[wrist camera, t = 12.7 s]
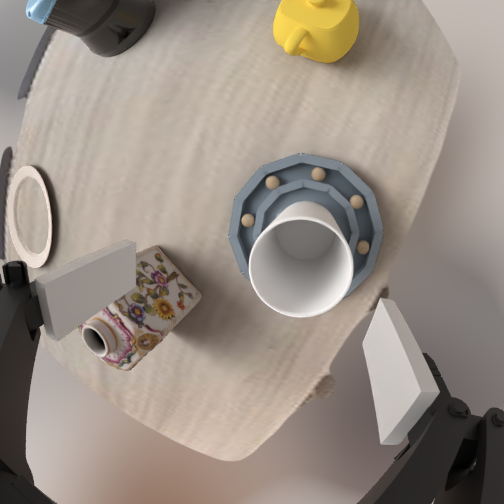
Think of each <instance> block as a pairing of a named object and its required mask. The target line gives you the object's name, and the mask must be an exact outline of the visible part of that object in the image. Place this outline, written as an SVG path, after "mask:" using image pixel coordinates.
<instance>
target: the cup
mask: <svg viewBox="0 0 504 504" xmlns="http://www.w3.org/2000/svg"><path fill="white" fill-rule="evenodd" d="M353 268H354V267H353V257H352V253H351V250H350V247H349V245H348V243H347V241H346V239H345V237H344V236H343V234H342V232H341V230H340V228H339V227H338V225H337V223H336V221H335V219H334V218H333V216H332V214H331V213H330V212H329V211H328V210H327V209H326V208H325V207H324V206H322V205H320V204H318V203H315V202H311V201H300V202H296V203H294V204H292V205H290V206H288V207H287V208H286V209H285V210H284V211H283V212H282V213H281V214H280V215H279V216H278V217H277V218H276V219H275V220H274V221H273V222H272V223H271V224H270V225H269V226H268V227H267V228H266V229H265V230H264V231H263V232H262V233H261V234H260V236H259V237H258V238H257V240H256V242H255V244H254V246H253V248H252V251H251V254H250V258H249V275H250V280H251V283H252V285H253V288H254V290H255V291H256V293H257V295H258V296H259V297H260V299H261V300H262V301H263V302H264V303H265V304H266V305H268V306H269V307H270V308H272V309H273V310H275V311H277V312H279V313H281V314H284V315H287V316H291V317H302V318H303V317H312V316H316V315H319V314H322V313H324V312H326V311H328V310H330V309H331V308H333V307H334V306H335V305H337V304H338V303H339V302H340V301H341V300H342V298H343V297H344V296H345V294H346V293H347V291H348V289H349V287H350V284H351V281H352V278H353Z"/></svg>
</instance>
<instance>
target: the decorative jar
mask: <svg viewBox="0 0 504 504" xmlns="http://www.w3.org/2000/svg"><path fill="white" fill-rule="evenodd" d="M201 298H202V294H201V293H200V292H199V291H198V290H197V289H196V287H195V286H194V285H193V284H192V283H191V282H190V281H189V280H188V279H187V278H186V277H185V276H184V275H183V274H182V273H181V272H180V271H179V269H178V268H177V267H176V266H175V265H174V264H173V263H172V262H171V261H170V260H169V259H168V257H167V256H166V255H165V254H164V253H163V252H162V250H161V249H160V248H159V247H158V246H157V245H155V246H153V247H150V248H147V249H145V250H143V251H141V252H138V253H136V287H135V288H133V289H132V290H130V291H129V292H127V293H126V294H125V295H123V296H122V297H120V298H119V299H117V300H116V301H114V302H113V303H111V304H110V305H108V306H107V307H106V308H104V309H103V310H101V311H100V312H98V313H97V314H96V315H94V316H93V317H91V318H90V319H88V320H87V321H86V322H84V323H83V324H81V325H80V326H79V327H78V328H79V331H80V335H81V337H82V339H83V341H84V342H85V344H86V346H87V347H88V348H89V350H90V351H91V352H92V353H94V354H95V355H96V356H97V357H98V358H99V359H100V360H101V361H102V362H104V363H106V364H108V365H110V366H113V367H115V368H117V369H121V370H126V371H128V370H131V369H132V368H133V367H134V366H135V365H136V364H137V363H138V362H139V361H140V360H141V359H142V358H143V357H144V356H146V355H147V353H148V352H149V351H151V350H152V349H153V348H154V347H155V346H156V345H158V344H159V343H160V342H162V340H163V339H164V338H165V336H167V335H168V333H169V332H170V331H171V330H172V329H173V328H174V327H175V326H176V325H177V324H178V323H179V322H180V321H181V320H182V319H183V318H184V317H185V316H186V315H187V314H188V313H189V312H190V311H191V310H192V309H193V308H194V307H195V305H196V304H197V303H198V302H199V301H200V300H201Z"/></svg>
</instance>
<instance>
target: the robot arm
mask: <svg viewBox="0 0 504 504" xmlns="http://www.w3.org/2000/svg"><path fill="white" fill-rule="evenodd" d="M154 13H155V6H154V3H153V2H152V1H151V0H29V1H28V4H27V8H26V15H27V17H28V18H29V19H31V20H34V21H36V22H38V23H40V24H41V25H42V24H44V25H47V26H50V27H53V28H56V29H59V30H62V31H64V32H67V33H70V34H73V35H75V36H78V37H80V38H81V40H82V41H83V42H84V43H85V44H86V45H87V46H88V47H89V48H90V50H91V51H92V52H93V53H95V54H97V55H100V56H102V57H111V56H115V55H117V54H119V53H121V52H123V51H125V50H126V49H128V48H129V47H130V46H132V45H133V44H134V43H135V42H136V41H137V40H138V39H139V38H140V37H141V36H142V35H143V34H144V32H145V31H146V30H147V28H148V27H149V25H150V23H151V21H152V19H153V17H154ZM2 268H3V274H4V279H5V284H3V283H2V279H1V274H0V504H57V503H55V502H54V501H52V500H51V499H50V498H49V497H48V496H46V495H45V494H44V493H43V492H41V491H40V490H39V489H38V488H37V487H36V486H34V480H33V476H32V473H31V470H30V468H29V465H28V463H27V460H26V423H27V410H28V400H29V392H30V385H31V379H32V373H33V367H34V362H35V356H36V352H37V348H38V343H39V339H40V335H41V332H40V328H39V327H40V326H42V325H43V324H44V327H45V330H46V334H47V336H48V337H50V338H51V339H53V340H54V341H56V342H58V341H59V340H61V339H62V338H63V337H65V336H66V335H67V334H69V333H70V332H72V331H73V330H74V329H76V328H77V327H79V326H80V325H81V324H83V323H84V322H86V321H87V320H88V319H90V318H91V317H93V316H94V315H96V314H97V313H98V312H100V311H101V310H103V309H104V308H106V307H107V306H108V305H110V304H111V303H113V302H114V301H116V300H117V299H119V298H120V297H122V296H123V295H125V294H126V293H127V292H129V291H130V290H132V289H133V288H135V287H136V242H133V241H129V240H123V241H121V242H118V243H116V244H113V245H111V246H109V247H106V248H104V249H101V250H99V251H96V252H94V253H92V254H89V255H87V256H85V257H82V258H80V259H78V260H75V261H73V262H71V263H68V264H66V265H64V266H62V267H59V268H57V269H55V270H53V271H51V272H48V273H46V274H44V275H42V276H40V277H38V278H36V279H35V281H33V282H31V283H30V282H29V276H28V270H27V264H26V262H24V261H11V262H8V263H6V264H5V265H3V266H2ZM362 344H363V349H364V353H365V358H366V361H367V367H368V372H369V377H370V382H371V387H372V392H373V398H374V403H375V409H376V415H377V421H378V428H379V435H380V442H381V444H388V445H391V444H399V443H400V442H401V441H402V440H403V439H404V438H405V437H406V436H407V435H408V440H409V443H408V445H407V446H406V447H405V448H404V449H403V450H402V451H401V452H400V453H399V454H398V455H397V456H396V457H395V458H394V459H395V461H394V462H393V464H392V465H391V466H390V467H389V469H388V470H387V471H386V472H385V474H384V475H383V476H382V477H381V478H380V479H379V481H378V482H377V483H376V484H375V485H374V486H373V487H372V489H371V490H370V491H369V492H368V493H367V494H366V495H365V496H364V497H363V498H362V499H361V500H360V501H359V502H358V503H357V504H431V503H432V502H433V500H434V498H435V500H434V503H433V504H504V411H503V410H500V409H498V408H490V409H489V410H488V411H487V412H486V414H485V415H484V416H483V417H479V416H475V415H471V412H470V409H469V407H468V406H467V405H466V403H464V402H463V401H462V400H460V399H458V398H453V397H451V395H450V393H449V391H448V389H447V387H446V385H445V382H444V380H443V378H442V377H441V374H440V372H439V371H438V368H437V366H436V364H435V362H434V361H433V360H432V359H431V358H430V357H429V356H428V355H427V353H422V352H421V350H420V348H419V346H418V344H417V343H416V341H415V339H414V337H413V335H412V333H411V331H410V329H409V327H408V325H407V324H406V322H405V320H404V318H403V316H402V315H401V313H400V311H399V309H398V307H397V306H396V304H395V302H394V301H393V300H388V299H383V298H380V300H379V303H378V305H377V308H376V311H375V314H374V316H373V319H372V321H371V324H370V326H369V329H368V331H367V334H366V336H365V339H364V341H363V343H362ZM475 463H476V464H475Z"/></svg>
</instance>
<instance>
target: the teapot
mask: <svg viewBox="0 0 504 504" xmlns="http://www.w3.org/2000/svg"><path fill="white" fill-rule="evenodd" d="M358 31H359V12H358V8H357V6H356V4H355V2H354V0H282V1H281V3H280V5H279V7H278V9H277V12H276V15H275V19H274V24H273V34H274V38H275V41H276V42H277V43H278V44H279V45H280V46H281V47H283V48H284V50H285V52H286V53H288V54H290V55H294V56H296V55H301V56H304V57H306V58H309V59H312V60H315V61H319V62H323V63H331V62H335V61H337V60H339V59H340V58H341V57H343V56H344V55H345V54H346V53H347V52H348V51H349V50H350V48H351V47H352V46H353V44H354V43H355V41H356V38H357V35H358Z"/></svg>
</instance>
